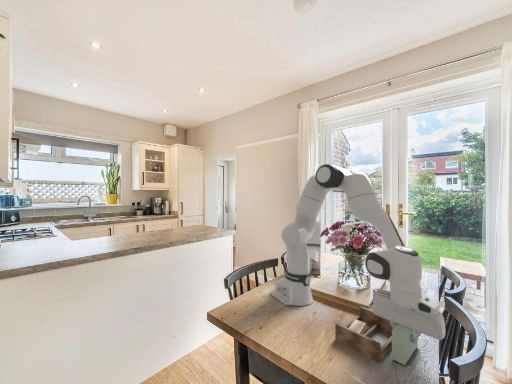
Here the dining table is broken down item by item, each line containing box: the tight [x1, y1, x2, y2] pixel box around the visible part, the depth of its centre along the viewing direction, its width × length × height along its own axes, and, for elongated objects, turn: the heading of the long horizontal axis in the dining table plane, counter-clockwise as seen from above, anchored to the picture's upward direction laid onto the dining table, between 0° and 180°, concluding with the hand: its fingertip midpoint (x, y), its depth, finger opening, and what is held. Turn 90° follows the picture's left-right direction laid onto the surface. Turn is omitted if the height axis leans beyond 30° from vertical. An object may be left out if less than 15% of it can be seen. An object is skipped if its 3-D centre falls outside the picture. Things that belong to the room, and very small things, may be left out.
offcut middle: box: [362, 325, 369, 335], centre depth 85 cm, size 4×11×1 cm, turn 137°
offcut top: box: [349, 318, 367, 334], centre depth 85 cm, size 4×9×1 cm, turn 139°
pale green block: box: [391, 324, 419, 366], centre depth 74 cm, size 4×14×9 cm, turn 130°
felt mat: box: [405, 348, 420, 366], centre depth 74 cm, size 5×10×1 cm, turn 130°
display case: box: [306, 220, 321, 277], centre depth 151 cm, size 11×11×35 cm
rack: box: [334, 306, 397, 364], centre depth 82 cm, size 15×20×6 cm
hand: (405, 338), depth 74 cm, fingers closed on pale green block, 3 cm apart
